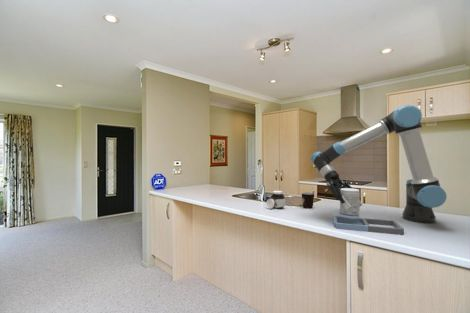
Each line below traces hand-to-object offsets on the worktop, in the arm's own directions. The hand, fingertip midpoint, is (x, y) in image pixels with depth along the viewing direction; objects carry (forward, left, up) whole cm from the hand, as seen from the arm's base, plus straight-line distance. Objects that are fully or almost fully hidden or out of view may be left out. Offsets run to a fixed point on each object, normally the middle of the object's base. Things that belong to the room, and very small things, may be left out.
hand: (355, 206), depth 125 cm
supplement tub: (+2, -2, -6) cm, 7 cm away
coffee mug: (+26, -39, -11) cm, 48 cm away
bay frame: (-5, -2, -10) cm, 12 cm away
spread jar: (+47, -28, -11) cm, 56 cm away
